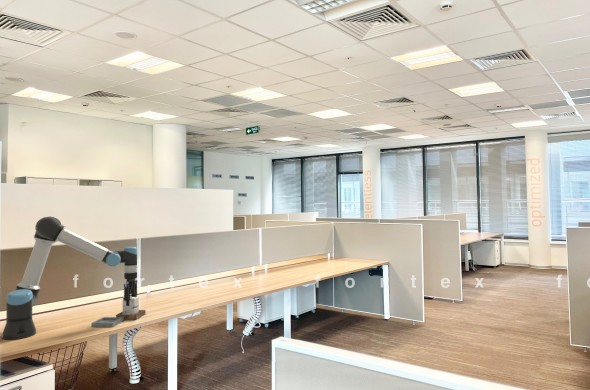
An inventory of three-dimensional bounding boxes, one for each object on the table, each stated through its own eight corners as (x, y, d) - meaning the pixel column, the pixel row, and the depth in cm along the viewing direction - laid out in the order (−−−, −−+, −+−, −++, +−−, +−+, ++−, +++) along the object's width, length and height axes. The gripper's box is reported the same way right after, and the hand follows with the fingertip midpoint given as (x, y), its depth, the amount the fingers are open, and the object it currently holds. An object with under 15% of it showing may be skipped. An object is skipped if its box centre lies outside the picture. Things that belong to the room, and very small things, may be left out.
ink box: (139, 316, 261) (139, 296, 261) (134, 318, 256) (134, 298, 257) (127, 315, 263) (127, 296, 264) (121, 317, 259) (121, 298, 259)
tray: (91, 326, 240) (91, 322, 240) (103, 320, 253) (103, 317, 253) (113, 326, 239) (113, 322, 239) (123, 320, 252) (123, 317, 252)
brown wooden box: (115, 319, 254) (115, 314, 254) (125, 314, 267) (125, 309, 267) (136, 319, 253) (136, 314, 253) (145, 314, 266) (145, 309, 266)
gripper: (129, 274, 251) (129, 313, 250) (143, 269, 270) (143, 306, 269) (117, 274, 252) (117, 313, 251) (131, 269, 270) (131, 306, 269)
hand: (130, 309), depth 260 cm, fingers closed on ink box, 5 cm apart
